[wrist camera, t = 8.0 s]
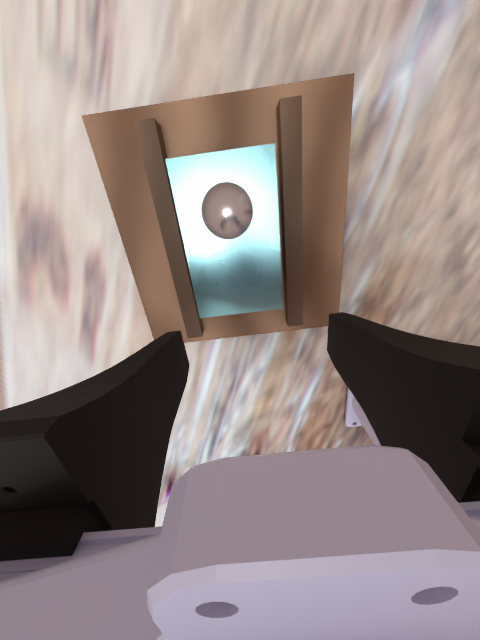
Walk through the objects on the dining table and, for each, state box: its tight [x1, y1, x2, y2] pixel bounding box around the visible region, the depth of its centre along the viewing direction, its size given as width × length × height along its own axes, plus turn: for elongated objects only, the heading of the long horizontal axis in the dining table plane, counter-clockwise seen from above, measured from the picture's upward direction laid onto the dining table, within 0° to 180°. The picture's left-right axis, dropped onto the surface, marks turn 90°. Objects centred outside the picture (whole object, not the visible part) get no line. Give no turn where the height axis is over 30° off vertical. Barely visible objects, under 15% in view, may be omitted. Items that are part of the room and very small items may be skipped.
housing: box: [165, 143, 283, 318], centre depth 14 cm, size 8×5×6 cm, turn 7°
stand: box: [82, 73, 354, 343], centre depth 17 cm, size 16×16×3 cm
